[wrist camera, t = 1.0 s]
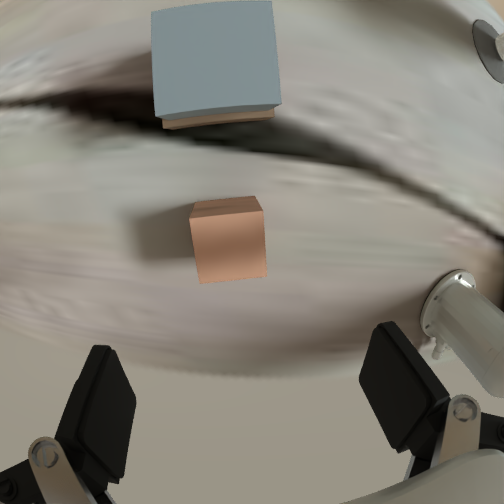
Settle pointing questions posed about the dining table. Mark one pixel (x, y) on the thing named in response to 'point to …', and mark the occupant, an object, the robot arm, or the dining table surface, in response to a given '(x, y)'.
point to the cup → (490, 48)
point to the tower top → (214, 59)
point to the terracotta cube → (228, 239)
